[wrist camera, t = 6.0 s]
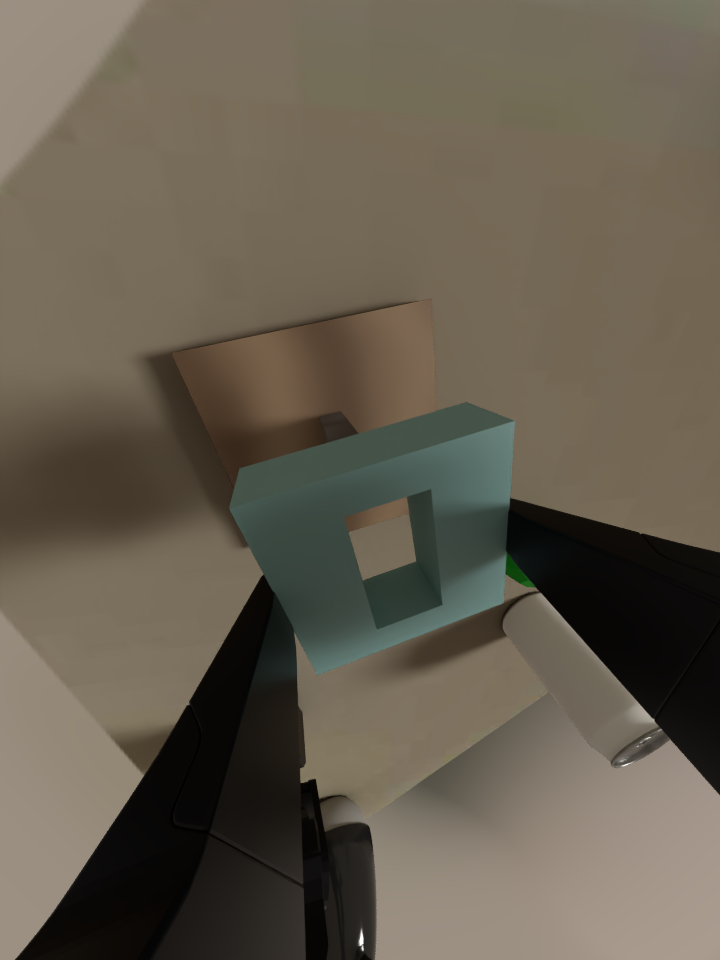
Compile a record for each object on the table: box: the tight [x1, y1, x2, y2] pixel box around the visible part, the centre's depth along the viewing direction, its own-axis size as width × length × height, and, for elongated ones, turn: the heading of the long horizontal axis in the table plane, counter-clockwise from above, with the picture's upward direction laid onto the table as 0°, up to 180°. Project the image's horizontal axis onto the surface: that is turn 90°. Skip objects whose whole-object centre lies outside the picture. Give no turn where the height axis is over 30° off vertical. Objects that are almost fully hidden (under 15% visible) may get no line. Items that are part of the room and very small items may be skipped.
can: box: [503, 592, 670, 768], centre depth 27 cm, size 6×6×12 cm
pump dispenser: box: [320, 796, 377, 960], centre depth 36 cm, size 10×10×15 cm
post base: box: [171, 299, 437, 532], centre depth 15 cm, size 12×12×6 cm
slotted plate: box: [229, 402, 515, 675], centre depth 9 cm, size 7×7×2 cm
